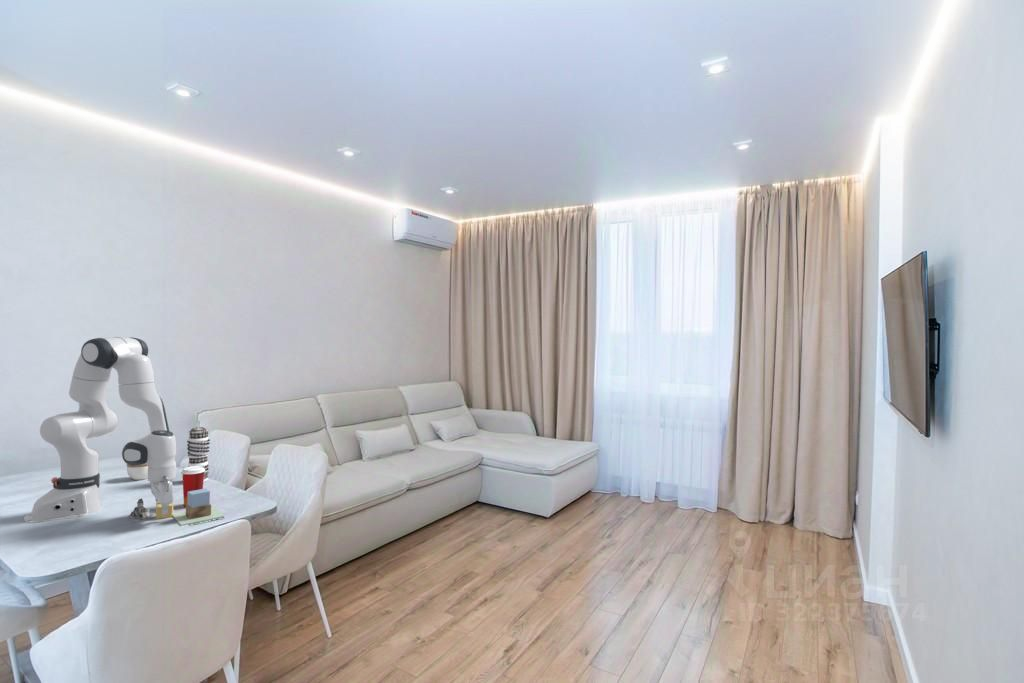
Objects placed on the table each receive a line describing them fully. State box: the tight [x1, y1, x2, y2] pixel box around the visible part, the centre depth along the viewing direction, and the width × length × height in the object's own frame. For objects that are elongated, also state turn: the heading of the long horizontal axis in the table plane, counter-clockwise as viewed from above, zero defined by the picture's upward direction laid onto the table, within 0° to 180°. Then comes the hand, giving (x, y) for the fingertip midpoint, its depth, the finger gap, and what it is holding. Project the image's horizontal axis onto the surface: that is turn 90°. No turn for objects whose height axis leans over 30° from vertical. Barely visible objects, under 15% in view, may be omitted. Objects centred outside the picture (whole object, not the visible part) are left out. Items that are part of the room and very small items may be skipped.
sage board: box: [172, 506, 225, 526], centre depth 191 cm, size 14×14×1 cm
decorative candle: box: [186, 426, 211, 483], centre depth 239 cm, size 9×9×25 cm
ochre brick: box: [155, 502, 174, 520], centre depth 190 cm, size 5×4×5 cm
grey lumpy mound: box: [127, 498, 152, 520], centre depth 191 cm, size 9×9×8 cm
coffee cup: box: [180, 466, 205, 507], centre depth 205 cm, size 8×8×15 cm
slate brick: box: [187, 488, 211, 508], centre depth 191 cm, size 6×5×5 cm
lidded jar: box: [126, 463, 148, 481], centre depth 240 cm, size 11×11×9 cm
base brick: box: [185, 503, 212, 519], centre depth 191 cm, size 7×6×4 cm
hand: (161, 510), depth 189 cm, fingers open, 8 cm apart
